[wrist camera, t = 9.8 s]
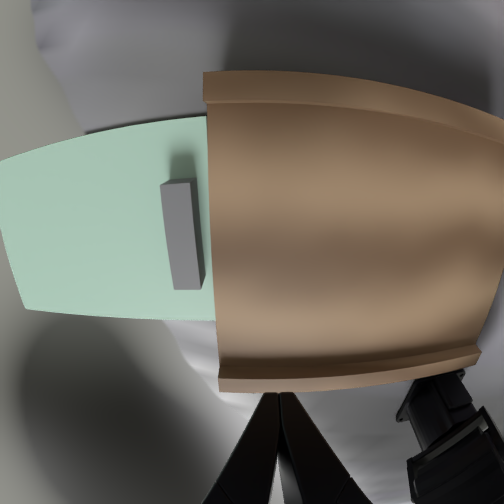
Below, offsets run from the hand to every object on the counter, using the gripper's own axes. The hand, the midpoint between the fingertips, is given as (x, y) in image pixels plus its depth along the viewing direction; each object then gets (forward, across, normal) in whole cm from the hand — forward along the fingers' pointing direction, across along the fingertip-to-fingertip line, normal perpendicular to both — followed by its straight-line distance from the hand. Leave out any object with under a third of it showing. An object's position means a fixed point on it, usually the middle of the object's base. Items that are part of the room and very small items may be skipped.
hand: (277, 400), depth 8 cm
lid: (+11, +12, -2) cm, 17 cm away
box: (+11, -6, -2) cm, 13 cm away
